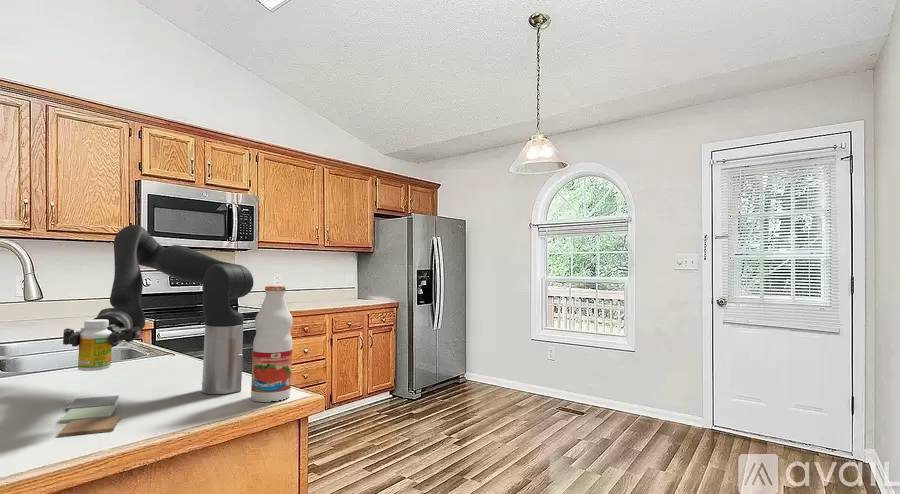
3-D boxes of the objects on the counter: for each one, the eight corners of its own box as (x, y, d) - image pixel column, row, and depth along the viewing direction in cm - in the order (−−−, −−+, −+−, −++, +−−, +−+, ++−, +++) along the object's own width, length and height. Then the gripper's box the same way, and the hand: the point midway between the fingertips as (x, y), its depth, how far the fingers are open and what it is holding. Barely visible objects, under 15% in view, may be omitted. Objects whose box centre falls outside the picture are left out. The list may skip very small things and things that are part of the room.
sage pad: (116, 407, 109) (116, 405, 109) (109, 418, 102) (109, 415, 102) (70, 411, 106) (70, 409, 106) (59, 423, 98) (59, 420, 98)
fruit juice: (288, 391, 127) (293, 285, 128) (292, 401, 118) (296, 287, 120) (250, 394, 123) (255, 285, 124) (250, 404, 114) (256, 286, 116)
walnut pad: (120, 418, 102) (120, 415, 102) (113, 431, 94) (113, 427, 94) (70, 423, 98) (70, 420, 98) (58, 436, 90) (58, 433, 90)
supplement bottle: (93, 372, 94) (95, 322, 94) (70, 370, 95) (73, 321, 95) (117, 366, 99) (119, 319, 100) (95, 365, 100) (98, 318, 101)
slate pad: (118, 397, 117) (118, 395, 117) (112, 407, 110) (112, 404, 110) (75, 401, 114) (75, 398, 114) (65, 411, 106) (66, 408, 106)
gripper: (71, 313, 107) (48, 322, 92) (146, 312, 114) (137, 320, 98) (69, 347, 107) (46, 362, 92) (145, 344, 113) (135, 357, 98)
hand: (93, 340), depth 95 cm, fingers closed on supplement bottle, 5 cm apart
